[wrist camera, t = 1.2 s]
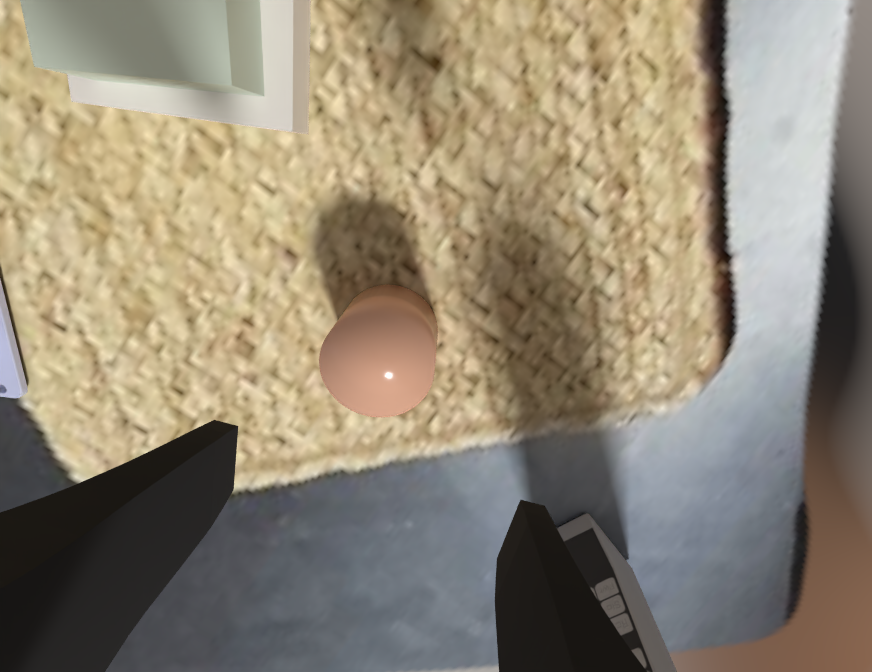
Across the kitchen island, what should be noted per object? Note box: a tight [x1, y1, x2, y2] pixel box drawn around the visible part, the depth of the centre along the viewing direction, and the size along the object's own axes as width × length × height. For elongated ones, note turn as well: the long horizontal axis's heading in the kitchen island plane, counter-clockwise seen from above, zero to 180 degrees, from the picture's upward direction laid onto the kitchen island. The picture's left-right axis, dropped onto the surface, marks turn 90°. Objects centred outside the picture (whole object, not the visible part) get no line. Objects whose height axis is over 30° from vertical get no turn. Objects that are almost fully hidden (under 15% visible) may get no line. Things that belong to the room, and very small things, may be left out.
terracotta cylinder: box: [319, 285, 438, 417], centre depth 19 cm, size 4×4×4 cm
